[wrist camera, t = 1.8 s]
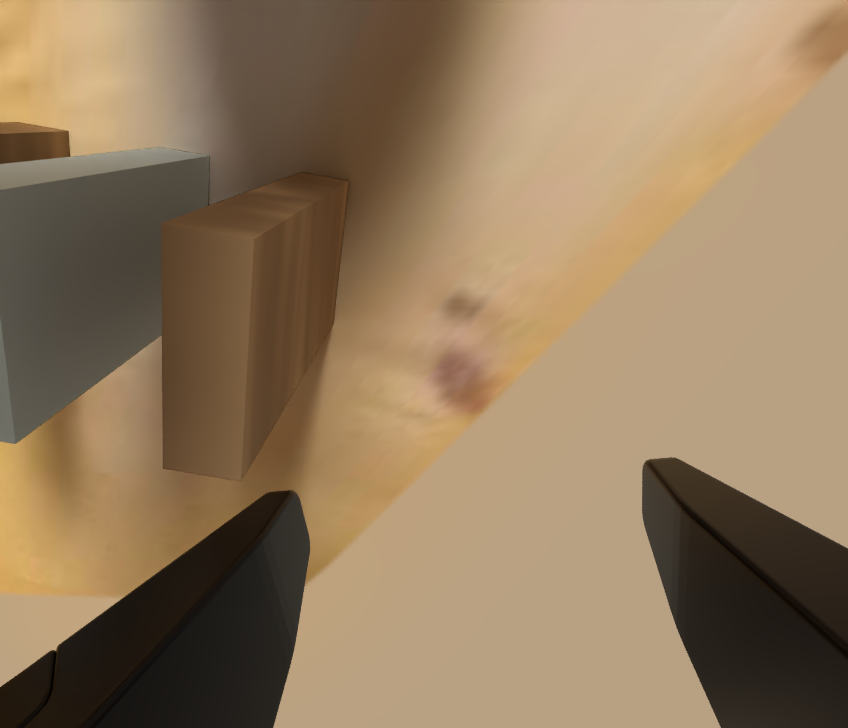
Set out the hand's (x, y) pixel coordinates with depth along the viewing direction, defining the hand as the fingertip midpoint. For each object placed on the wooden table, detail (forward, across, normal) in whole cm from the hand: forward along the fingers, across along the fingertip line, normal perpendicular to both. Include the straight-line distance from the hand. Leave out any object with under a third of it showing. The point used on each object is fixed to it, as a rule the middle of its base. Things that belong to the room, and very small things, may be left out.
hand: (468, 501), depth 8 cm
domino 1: (+13, +9, -3) cm, 16 cm away
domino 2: (+13, +5, -1) cm, 14 cm away
